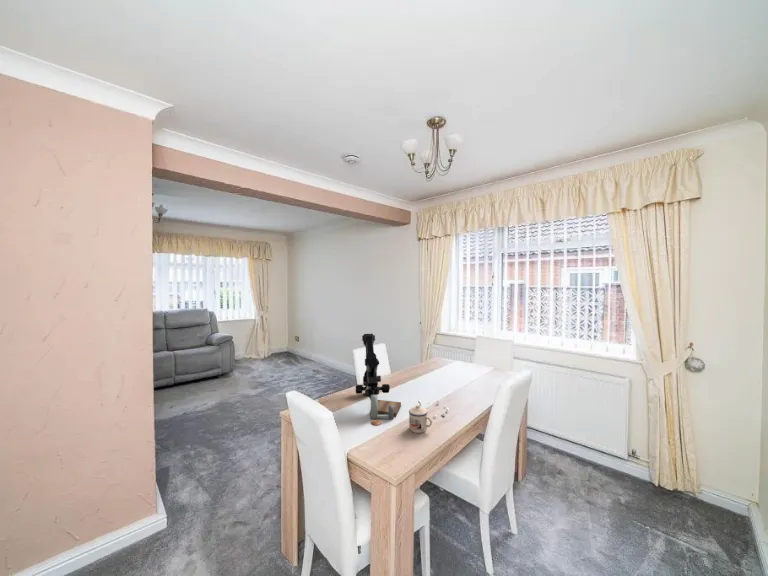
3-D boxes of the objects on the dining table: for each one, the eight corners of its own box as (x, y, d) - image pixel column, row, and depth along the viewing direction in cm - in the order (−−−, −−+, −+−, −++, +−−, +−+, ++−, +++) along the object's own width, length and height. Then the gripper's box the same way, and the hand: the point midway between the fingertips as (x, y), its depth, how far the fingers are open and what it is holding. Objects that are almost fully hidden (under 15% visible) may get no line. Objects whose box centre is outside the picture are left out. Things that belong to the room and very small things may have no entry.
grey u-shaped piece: (393, 416, 157) (393, 394, 157) (393, 419, 154) (393, 397, 153) (371, 415, 158) (371, 394, 157) (370, 418, 154) (370, 397, 154)
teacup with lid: (405, 429, 144) (405, 406, 143) (414, 422, 151) (414, 400, 151) (427, 437, 137) (427, 412, 136) (436, 429, 144) (436, 405, 144)
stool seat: (400, 406, 170) (400, 402, 170) (390, 427, 146) (390, 422, 146) (377, 403, 174) (377, 399, 174) (364, 424, 150) (364, 419, 150)
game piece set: (407, 407, 171) (407, 400, 171) (437, 401, 178) (437, 395, 178) (424, 421, 153) (424, 414, 153) (456, 415, 160) (456, 408, 160)
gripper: (355, 370, 162) (355, 398, 151) (389, 369, 163) (391, 397, 153) (355, 379, 170) (355, 406, 159) (387, 379, 171) (389, 405, 161)
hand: (373, 404), depth 158 cm, fingers closed, pressing on grey u-shaped piece
